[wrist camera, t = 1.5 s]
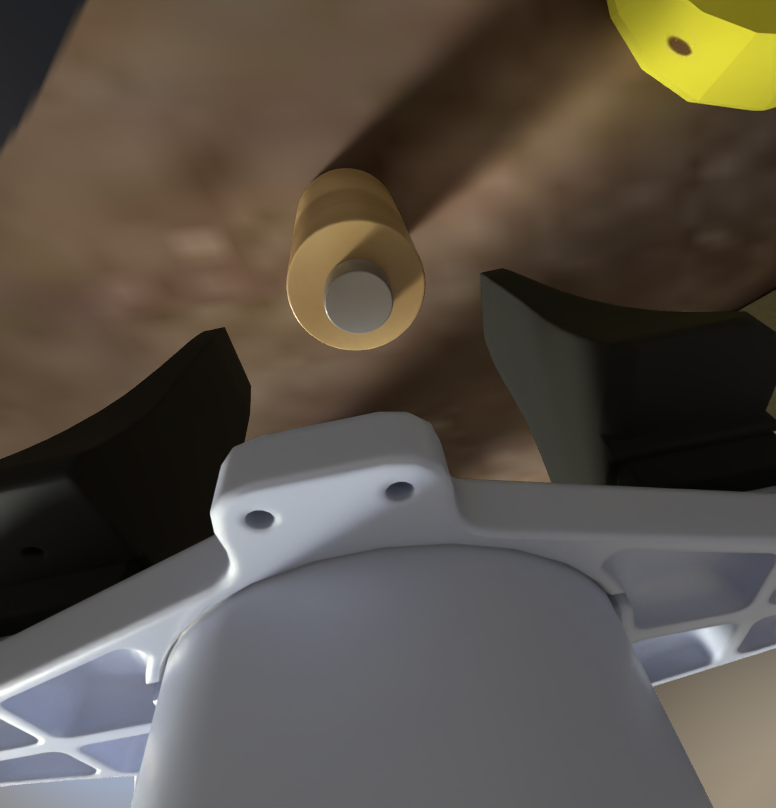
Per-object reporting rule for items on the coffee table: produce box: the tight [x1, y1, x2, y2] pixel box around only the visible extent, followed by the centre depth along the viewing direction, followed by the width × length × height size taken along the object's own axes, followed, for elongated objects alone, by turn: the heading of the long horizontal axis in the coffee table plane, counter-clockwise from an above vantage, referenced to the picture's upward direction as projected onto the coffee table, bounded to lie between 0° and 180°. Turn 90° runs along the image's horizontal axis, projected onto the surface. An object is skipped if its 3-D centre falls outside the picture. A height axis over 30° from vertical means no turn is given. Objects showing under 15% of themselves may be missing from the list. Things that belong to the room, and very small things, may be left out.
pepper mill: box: [286, 168, 426, 350], centre depth 18 cm, size 5×5×9 cm
